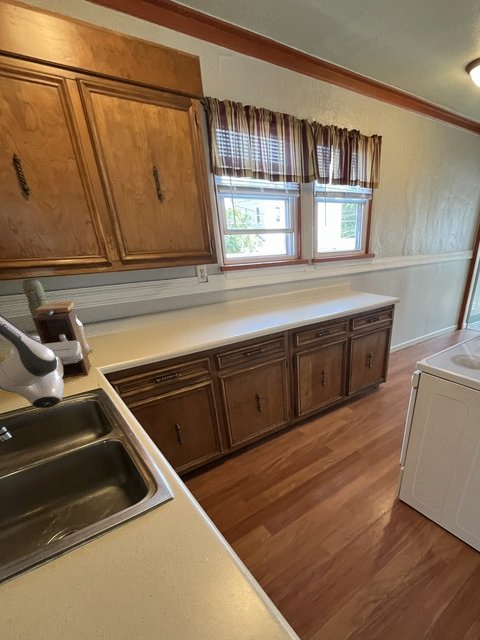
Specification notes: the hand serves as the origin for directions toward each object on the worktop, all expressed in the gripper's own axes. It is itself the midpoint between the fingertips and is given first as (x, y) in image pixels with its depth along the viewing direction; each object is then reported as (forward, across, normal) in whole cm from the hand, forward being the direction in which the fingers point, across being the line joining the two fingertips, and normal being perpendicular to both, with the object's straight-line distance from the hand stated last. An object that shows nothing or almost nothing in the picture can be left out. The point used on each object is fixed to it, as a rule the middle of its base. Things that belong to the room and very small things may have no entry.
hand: (47, 337), depth 117 cm
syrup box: (+17, +12, +34) cm, 40 cm away
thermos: (+44, +14, +50) cm, 68 cm away
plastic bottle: (+30, -1, +42) cm, 52 cm away
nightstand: (+8, 0, +29) cm, 30 cm away
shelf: (+23, 0, +8) cm, 24 cm away
